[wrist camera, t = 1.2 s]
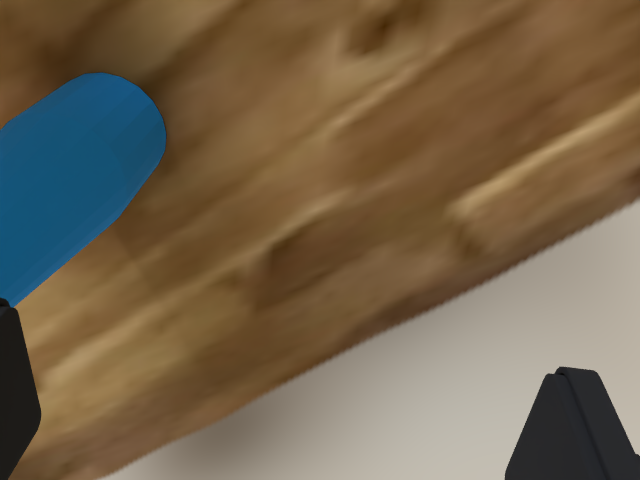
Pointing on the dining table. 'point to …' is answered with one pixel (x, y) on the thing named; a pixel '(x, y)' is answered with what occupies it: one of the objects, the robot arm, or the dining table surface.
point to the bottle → (71, 173)
